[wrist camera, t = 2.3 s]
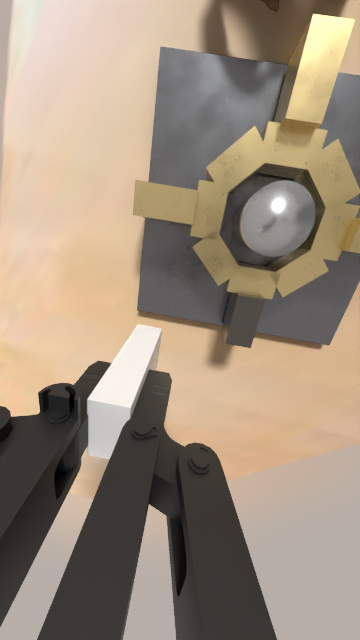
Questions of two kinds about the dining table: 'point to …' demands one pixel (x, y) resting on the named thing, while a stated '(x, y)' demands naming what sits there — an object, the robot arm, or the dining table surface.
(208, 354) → the dining table surface
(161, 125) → the flange plate
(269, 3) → the pottery mug
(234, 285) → the ring nut
